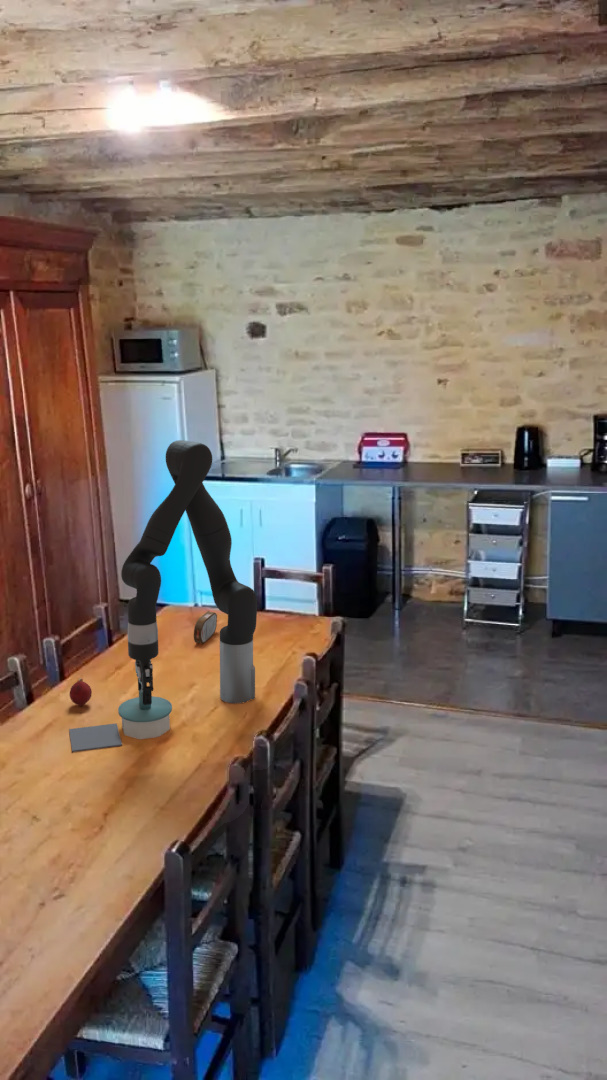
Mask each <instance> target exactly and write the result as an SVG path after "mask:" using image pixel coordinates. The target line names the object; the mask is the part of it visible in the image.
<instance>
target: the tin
mask: <svg viewBox="0 0 607 1080" xmlns="http://www.w3.org/2000/svg"><path fill="white" fill-rule="evenodd" d="M217 626H218V614H217V613H216V612H214V611H210V610H208V611H206V612H204V613H203V614H202V615H201V616H200V617H199V618H198V619H197V621H196V622H195V624H194V629H193V641H194V642H195V643H197V644H205V643H206V642H207V641H208V640H210V639H211V638H212V636H214V634H215V632H216V630H217Z"/></svg>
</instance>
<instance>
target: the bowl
mask: <svg viewBox="0 0 607 1080" xmlns="http://www.w3.org/2000/svg"><path fill="white" fill-rule="evenodd" d="M170 720H171V719H170V714H169V715H168V716H166V717H164V718H162V719H159V720H156V721H150V722H133V721H128V720H125V719H123V718H122V717H121V727H122V732H123V735H124V736H127V737H130V738H134V739H137V740H145V739H152V738H159V737H161V736H162V735H164V734H165V733H166V732H168V731H169V730H170V729H171V727H170V725H171V724H170V722H171V721H170Z"/></svg>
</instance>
